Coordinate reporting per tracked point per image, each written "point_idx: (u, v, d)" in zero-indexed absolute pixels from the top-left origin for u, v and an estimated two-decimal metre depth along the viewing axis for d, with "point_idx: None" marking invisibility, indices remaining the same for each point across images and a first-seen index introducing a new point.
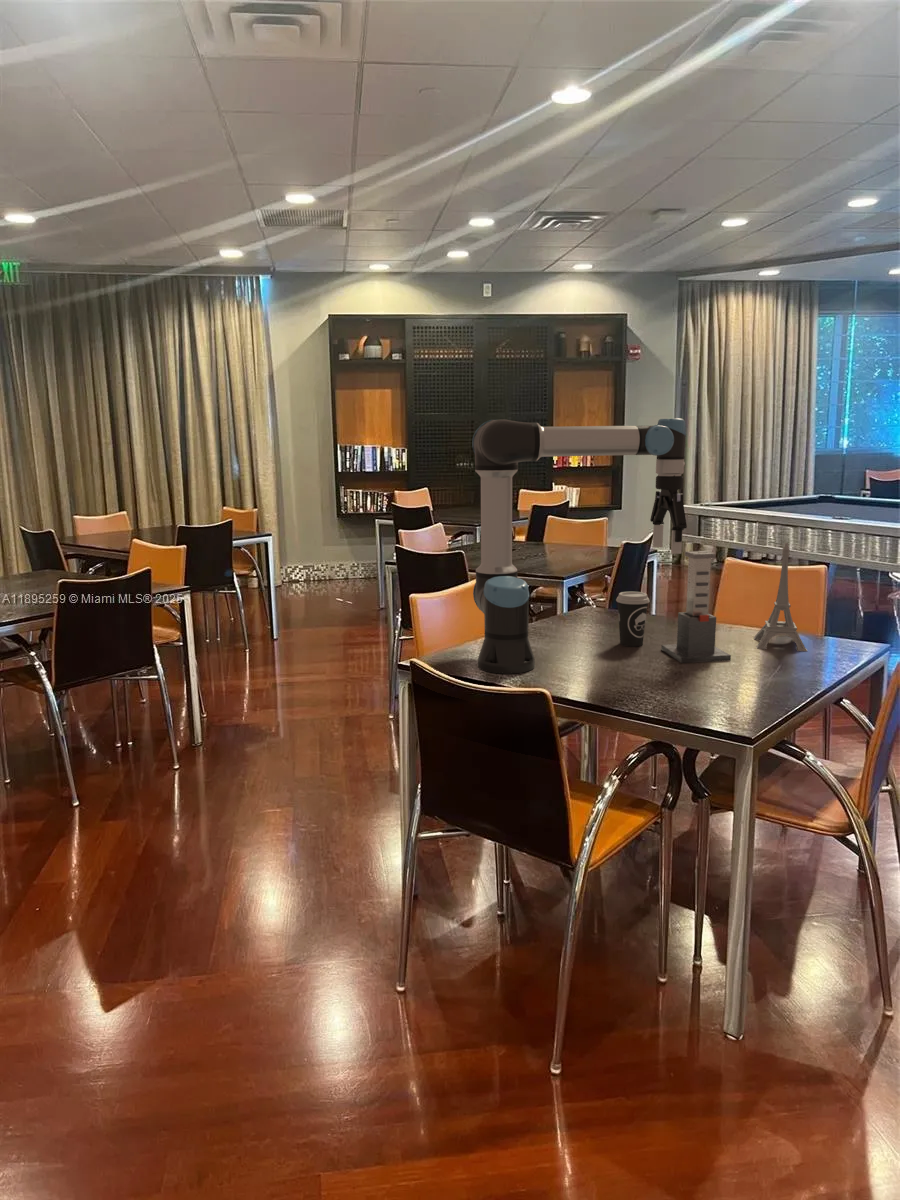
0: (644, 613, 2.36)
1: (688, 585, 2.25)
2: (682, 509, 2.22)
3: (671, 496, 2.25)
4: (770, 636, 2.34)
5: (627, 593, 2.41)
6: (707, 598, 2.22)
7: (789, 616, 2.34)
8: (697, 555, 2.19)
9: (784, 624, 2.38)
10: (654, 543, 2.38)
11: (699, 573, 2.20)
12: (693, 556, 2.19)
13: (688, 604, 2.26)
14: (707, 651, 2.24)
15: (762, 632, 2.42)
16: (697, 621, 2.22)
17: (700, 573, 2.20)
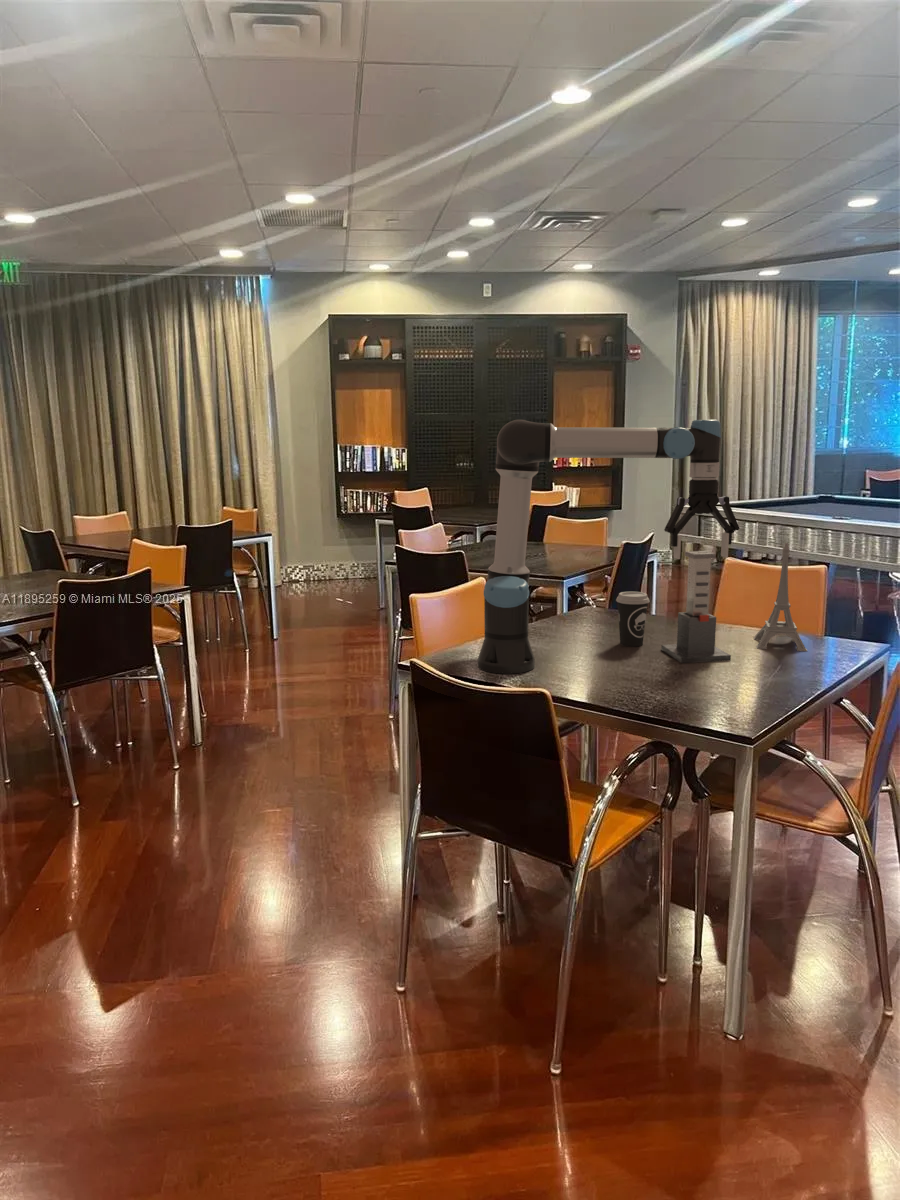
0: (644, 613, 2.36)
1: (688, 585, 2.25)
2: (675, 513, 2.18)
3: None
4: (770, 636, 2.34)
5: (627, 593, 2.41)
6: (707, 598, 2.22)
7: (789, 616, 2.34)
8: (697, 555, 2.19)
9: (784, 624, 2.38)
10: (721, 551, 2.24)
11: (699, 573, 2.20)
12: (693, 556, 2.19)
13: (688, 604, 2.26)
14: (707, 651, 2.24)
15: (762, 632, 2.42)
16: (697, 621, 2.22)
17: (700, 573, 2.20)
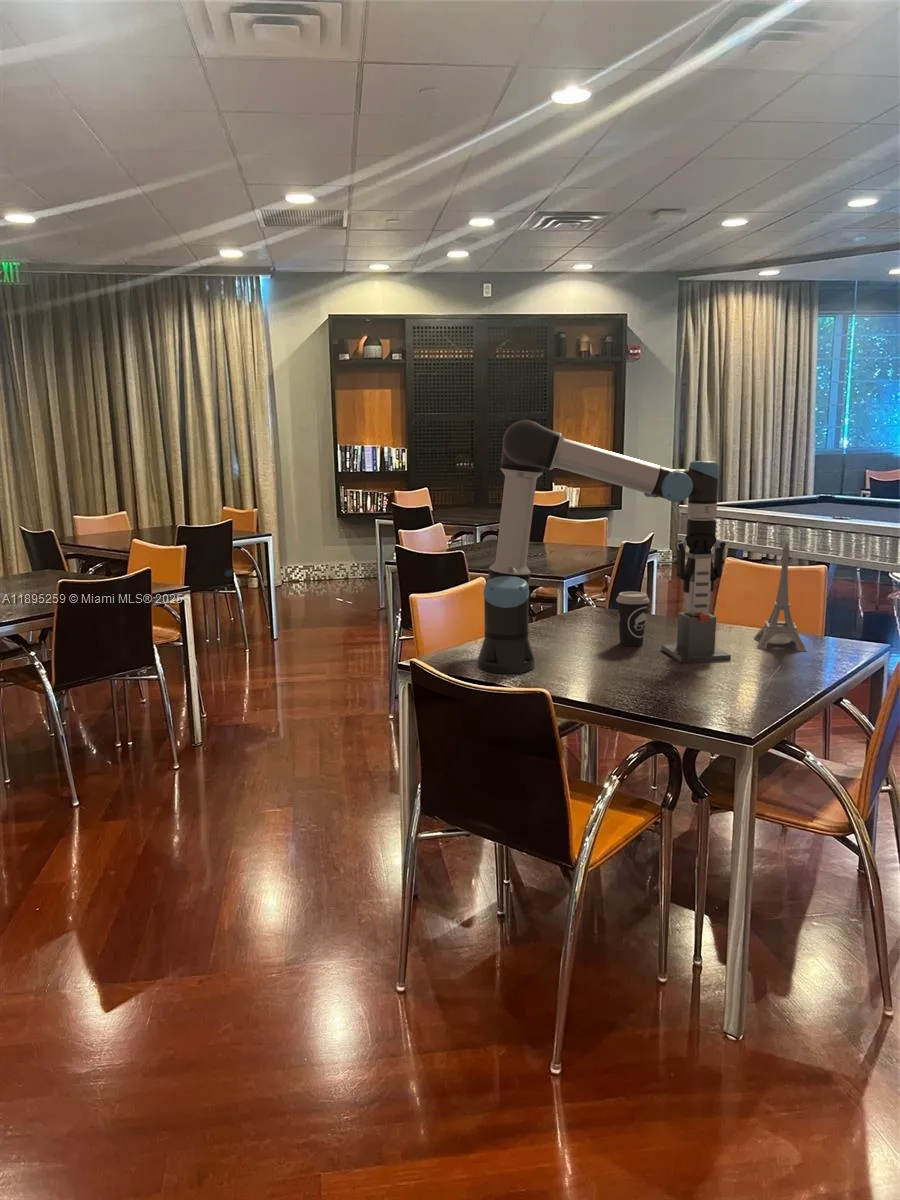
0: (644, 613, 2.36)
1: None
2: (679, 559, 2.21)
3: None
4: (770, 636, 2.34)
5: (627, 593, 2.41)
6: (707, 598, 2.22)
7: (789, 616, 2.34)
8: (697, 555, 2.19)
9: (784, 624, 2.38)
10: None
11: (699, 573, 2.20)
12: (693, 556, 2.19)
13: None
14: (707, 651, 2.24)
15: (762, 632, 2.42)
16: (697, 621, 2.22)
17: (700, 573, 2.20)
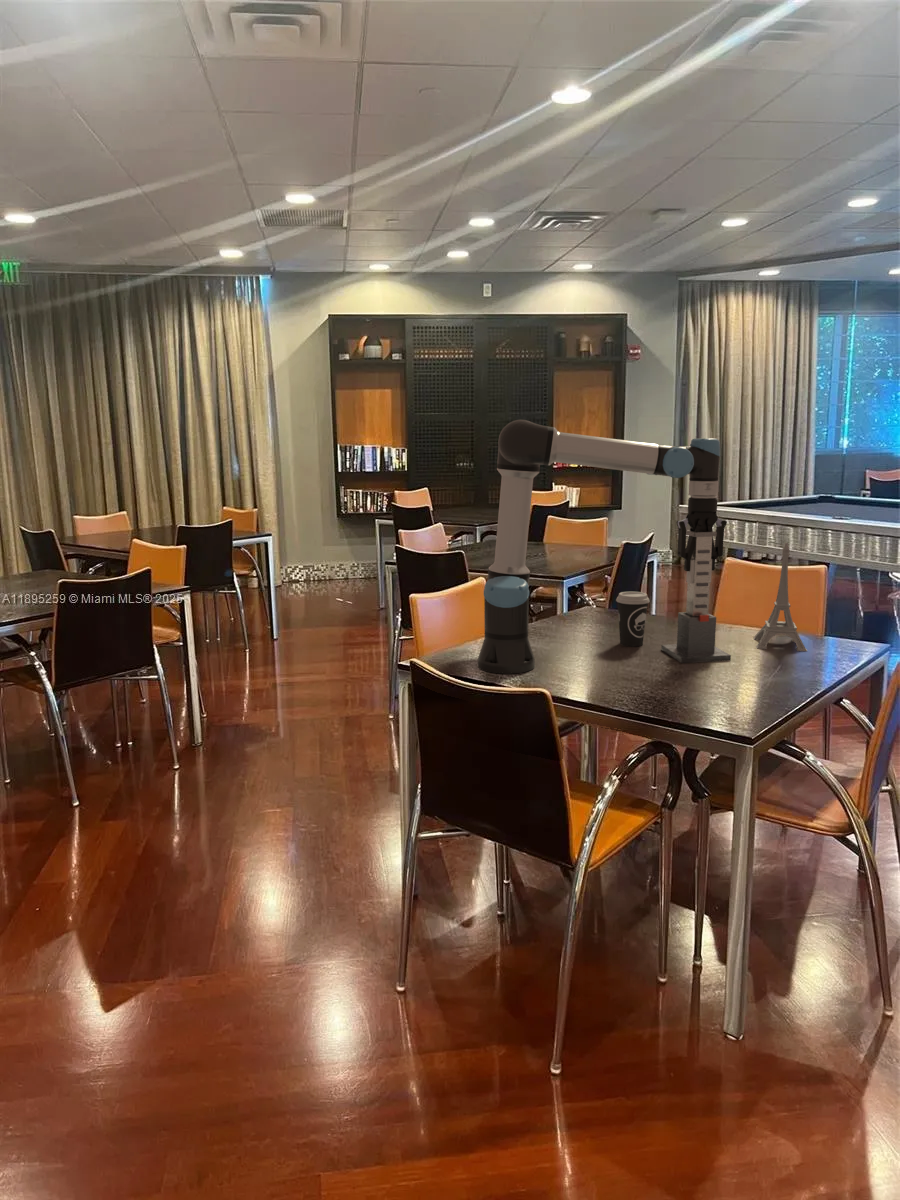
0: (644, 613, 2.36)
1: None
2: (681, 538, 2.20)
3: None
4: (770, 636, 2.34)
5: (627, 593, 2.41)
6: (708, 577, 2.21)
7: (789, 616, 2.34)
8: (698, 533, 2.18)
9: (784, 624, 2.38)
10: None
11: (700, 551, 2.19)
12: (694, 534, 2.18)
13: (689, 583, 2.25)
14: (707, 651, 2.24)
15: (762, 632, 2.42)
16: (697, 621, 2.22)
17: (701, 551, 2.19)
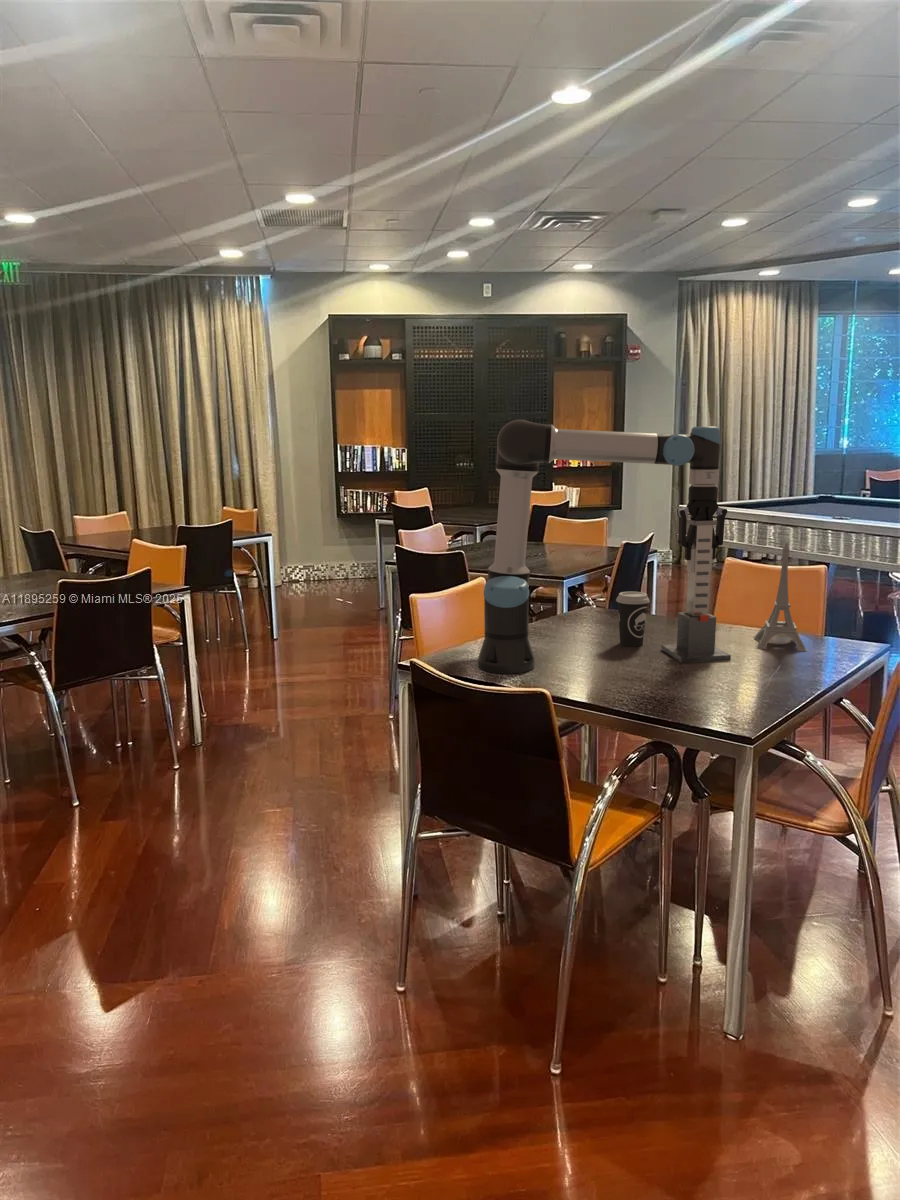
0: (644, 613, 2.36)
1: None
2: (681, 526, 2.19)
3: None
4: (770, 636, 2.34)
5: (627, 593, 2.41)
6: (709, 566, 2.21)
7: (789, 616, 2.34)
8: (699, 522, 2.17)
9: (784, 624, 2.38)
10: None
11: (701, 540, 2.18)
12: (695, 523, 2.17)
13: (689, 572, 2.24)
14: (707, 651, 2.24)
15: (762, 632, 2.42)
16: (697, 621, 2.22)
17: (702, 540, 2.19)
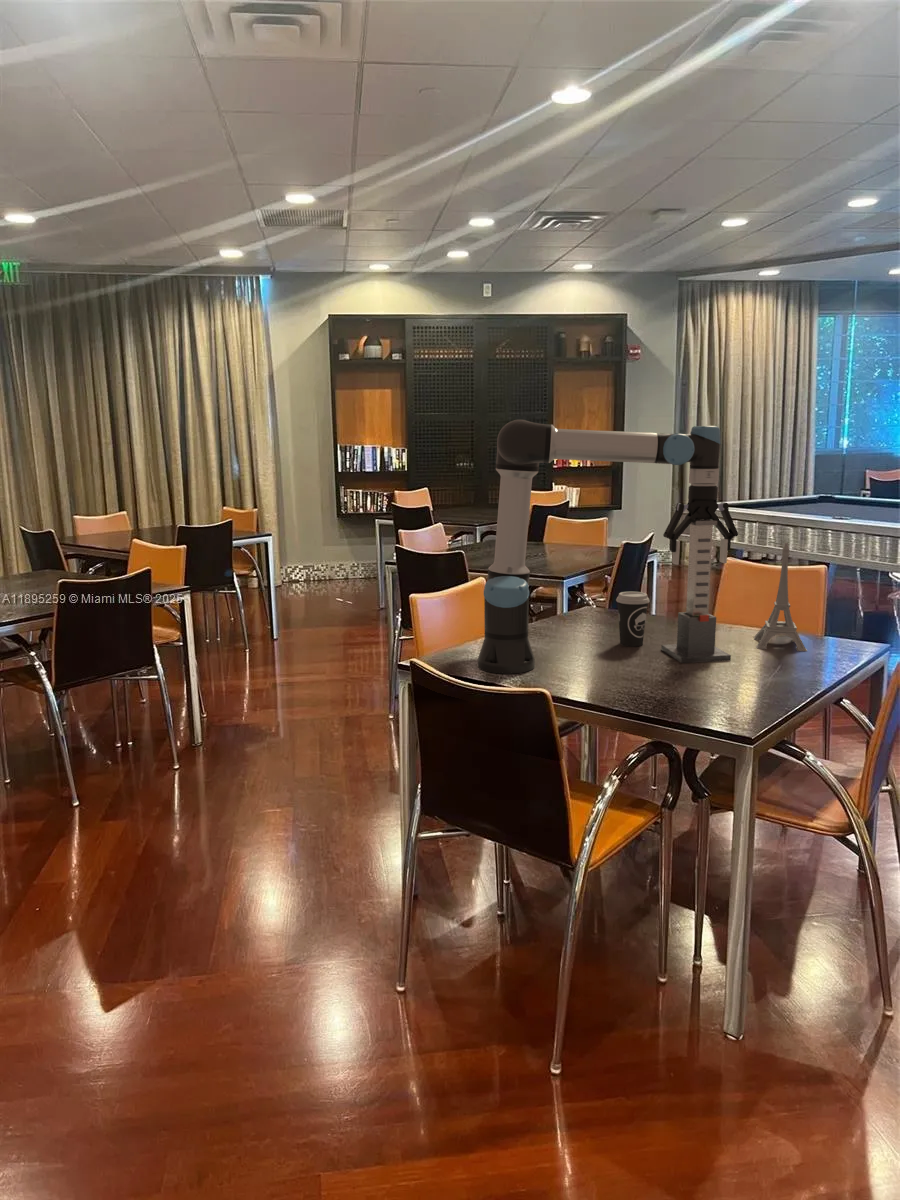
0: (644, 613, 2.36)
1: (690, 553, 2.23)
2: (674, 519, 2.18)
3: None
4: (770, 636, 2.34)
5: (627, 593, 2.41)
6: (709, 566, 2.21)
7: (789, 616, 2.34)
8: (699, 522, 2.17)
9: (784, 624, 2.38)
10: (720, 557, 2.24)
11: (701, 540, 2.18)
12: (695, 523, 2.17)
13: (689, 572, 2.24)
14: (707, 651, 2.24)
15: (762, 632, 2.42)
16: (697, 621, 2.22)
17: (702, 540, 2.19)
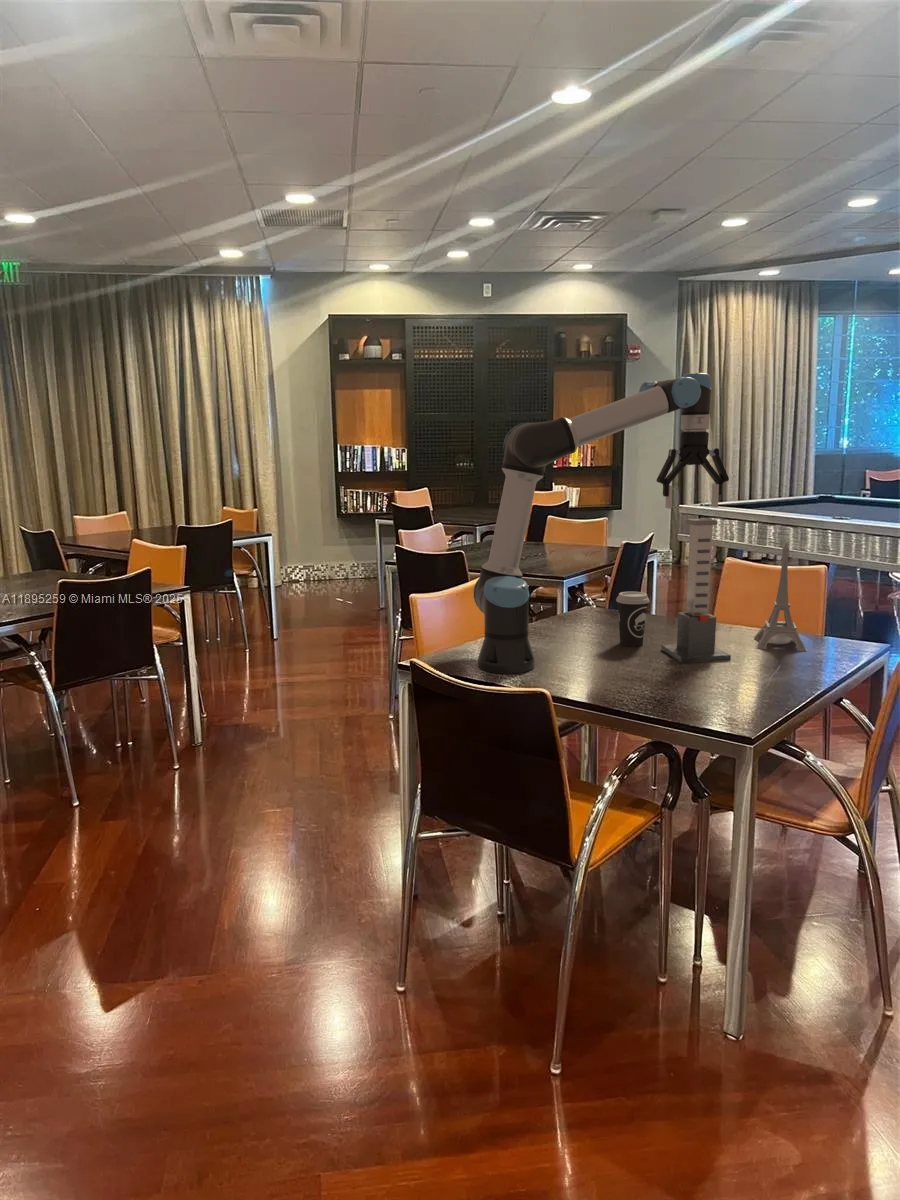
0: (644, 613, 2.36)
1: (690, 553, 2.23)
2: (666, 464, 2.27)
3: None
4: (770, 636, 2.34)
5: (627, 593, 2.41)
6: (709, 566, 2.21)
7: (789, 616, 2.34)
8: (699, 522, 2.17)
9: (784, 624, 2.38)
10: (712, 502, 2.33)
11: (701, 540, 2.18)
12: (695, 523, 2.17)
13: (689, 572, 2.24)
14: (707, 651, 2.24)
15: (762, 632, 2.42)
16: (697, 621, 2.22)
17: (702, 540, 2.19)
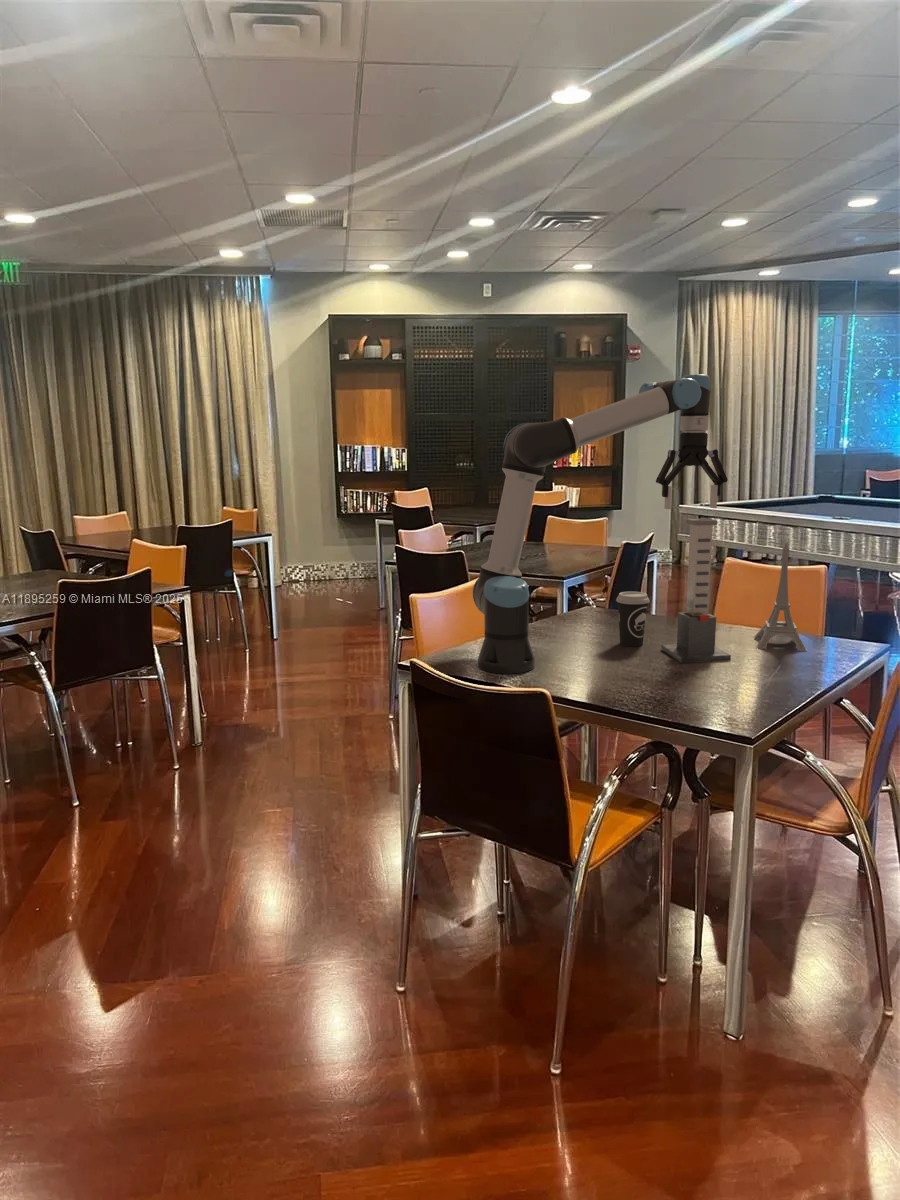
0: (644, 613, 2.36)
1: (690, 553, 2.23)
2: (666, 465, 2.28)
3: None
4: (770, 636, 2.34)
5: (627, 593, 2.41)
6: (709, 566, 2.21)
7: (789, 616, 2.34)
8: (699, 522, 2.17)
9: (784, 624, 2.38)
10: (710, 503, 2.33)
11: (701, 540, 2.18)
12: (695, 523, 2.17)
13: (689, 572, 2.24)
14: (707, 651, 2.24)
15: (762, 632, 2.42)
16: (697, 621, 2.22)
17: (702, 540, 2.19)
